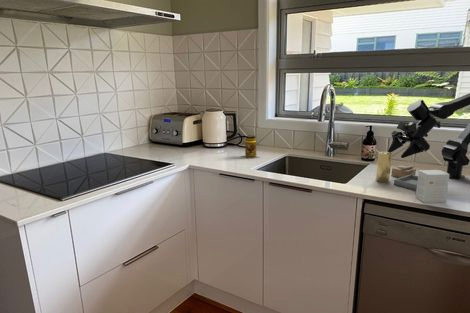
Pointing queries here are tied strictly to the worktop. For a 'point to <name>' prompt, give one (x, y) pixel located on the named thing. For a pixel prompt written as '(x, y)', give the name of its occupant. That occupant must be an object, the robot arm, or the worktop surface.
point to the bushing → (383, 167)
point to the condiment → (250, 147)
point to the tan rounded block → (403, 171)
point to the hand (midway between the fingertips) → (394, 154)
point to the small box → (432, 186)
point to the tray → (407, 182)
